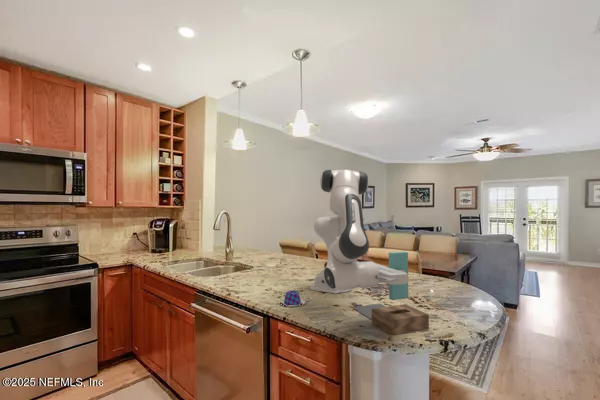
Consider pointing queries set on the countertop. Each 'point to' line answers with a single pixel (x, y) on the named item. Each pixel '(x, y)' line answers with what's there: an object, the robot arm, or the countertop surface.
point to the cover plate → (398, 262)
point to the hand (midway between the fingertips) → (400, 271)
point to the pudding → (292, 298)
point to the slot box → (400, 319)
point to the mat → (368, 309)
